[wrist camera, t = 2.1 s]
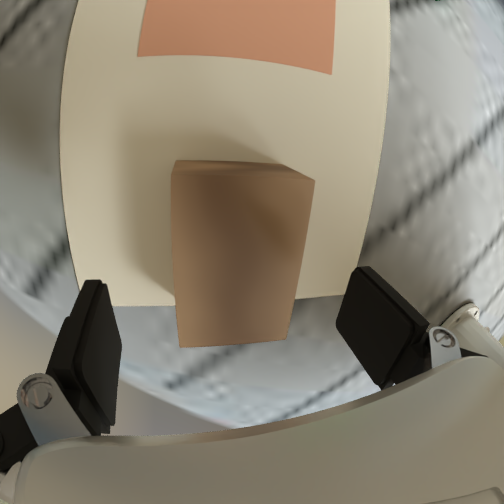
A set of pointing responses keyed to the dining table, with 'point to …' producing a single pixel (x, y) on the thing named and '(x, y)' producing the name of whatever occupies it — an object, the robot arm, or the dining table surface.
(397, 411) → the robot arm
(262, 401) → the dining table surface
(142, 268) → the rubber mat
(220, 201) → the walnut card box
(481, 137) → the dining table surface
